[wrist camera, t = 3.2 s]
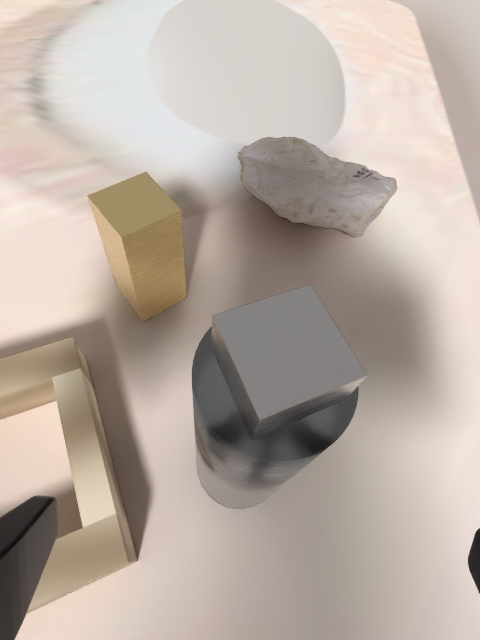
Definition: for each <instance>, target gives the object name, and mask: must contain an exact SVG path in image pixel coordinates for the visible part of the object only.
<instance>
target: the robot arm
mask: <svg viewBox="0 0 480 640" xmlns="http://www.w3.org/2000/svg"><path fill="white" fill-rule="evenodd" d="M56 536H57V501H56V499H55V498H54V497H52V496H34V497H32V498H30V499H28V500H27V501H25V502H24V503H22V504H21V505H19V506H17V507H16V508H14V509H13V510H11V511H10V512H8V513H6V514H5V515H3V516H2V517H0V640H14V639H15V637H16V635H17V633H18V631H19V629H20V627H21V625H22V623H23V620H24V618H25V615H26V613H27V611H28V608H29V606H30V603H31V601H32V598H33V596H34V593H35V591H36V588H37V586H38V583H39V581H40V578H41V576H42V573H43V571H44V568H45V566H46V563H47V560H48V558H49V555H50V553H51V550H52V548H53V545H54V543H55V540H56ZM468 566H469V570H470V572H471V575H472V577H473V579H474V582H475V584H476V586H477V589H478V591H479V593H480V528H479V529H478V530H477V531H476V533H475V536H474V540H473V543H472V546H471V549H470V553H469V556H468Z"/></svg>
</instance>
